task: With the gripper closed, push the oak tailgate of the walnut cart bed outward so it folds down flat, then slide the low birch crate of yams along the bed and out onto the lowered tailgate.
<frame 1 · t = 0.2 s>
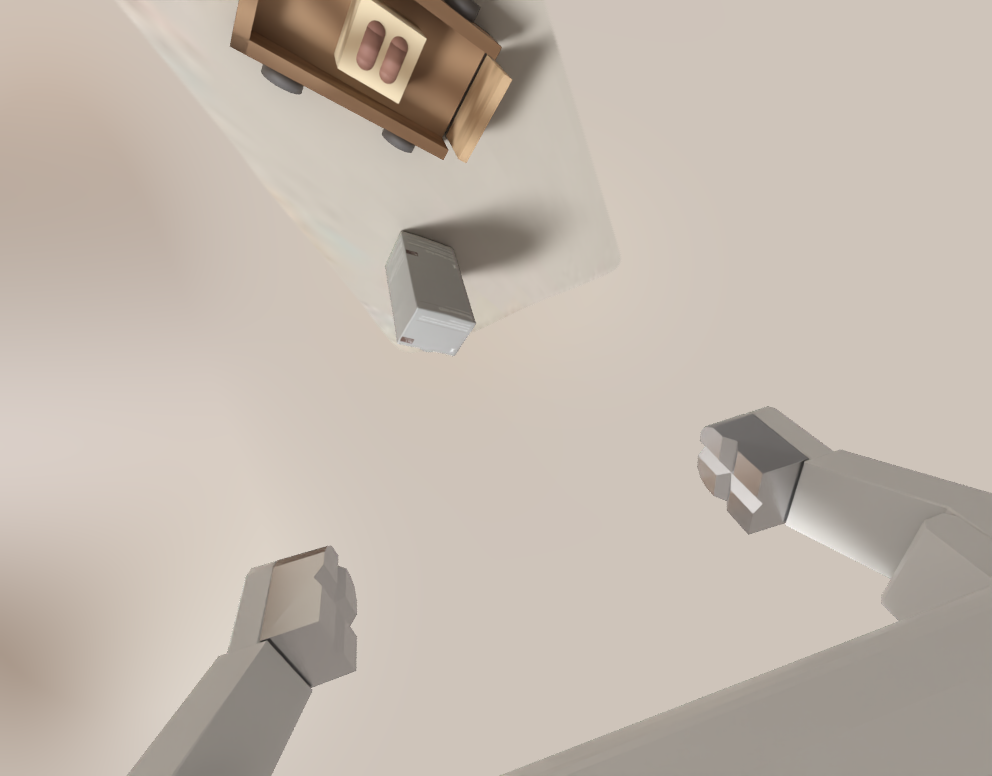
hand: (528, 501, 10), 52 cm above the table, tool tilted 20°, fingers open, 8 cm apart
skincare box: (416, 257, 65), on the table
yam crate: (379, 47, 42), in the cart bed, point 4 cm above the table
tailgate: (475, 109, 49), point 3 cm above the table, hinge at 0.0°
cart bed: (369, 32, 44), on the table
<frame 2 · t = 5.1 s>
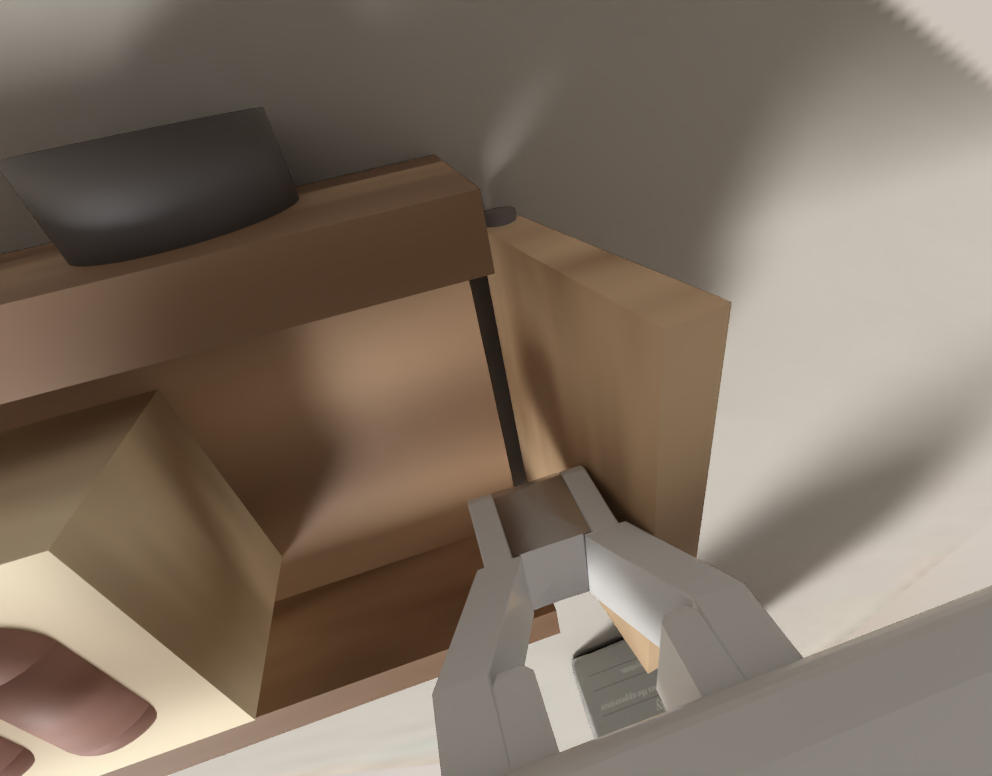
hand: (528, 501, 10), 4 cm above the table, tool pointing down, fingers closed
skincare box: (636, 655, 26), on the table
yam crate: (49, 612, 9), in the cart bed, point 4 cm above the table
tailgate: (579, 441, 10), point 3 cm above the table, hinge at 8.8°, touching gripper
cart bed: (104, 494, 12), on the table
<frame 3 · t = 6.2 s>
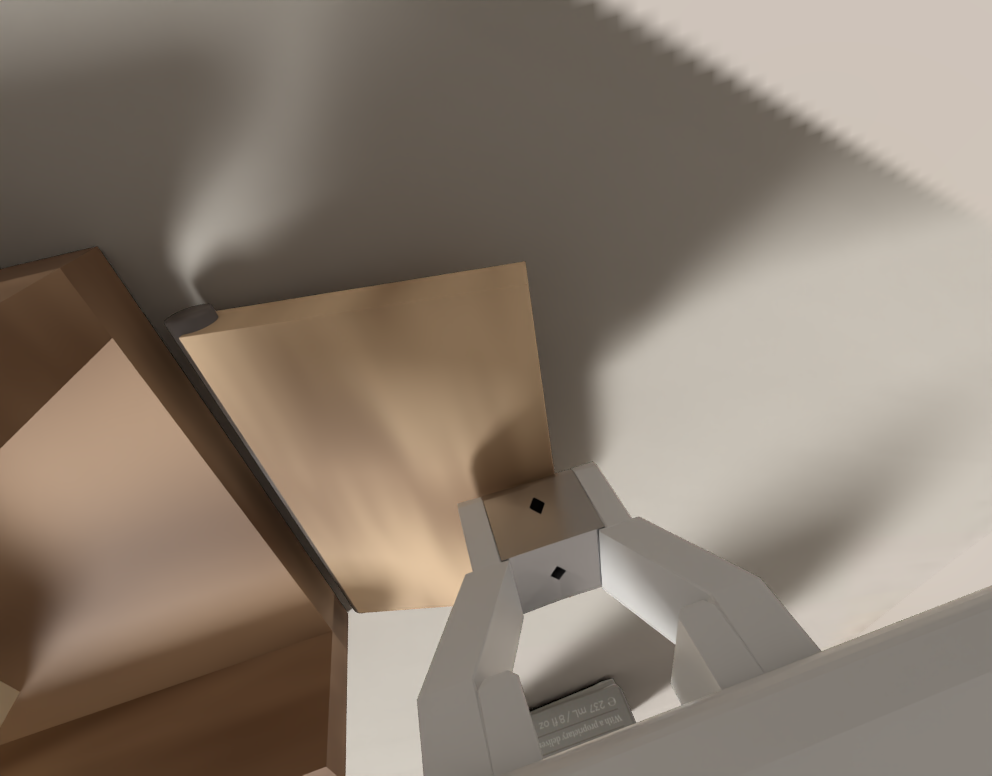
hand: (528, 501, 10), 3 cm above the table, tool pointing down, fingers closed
skincare box: (543, 726, 24), on the table
tailgate: (413, 480, 10), point 1 cm above the table, hinge at 74.2°, touching gripper
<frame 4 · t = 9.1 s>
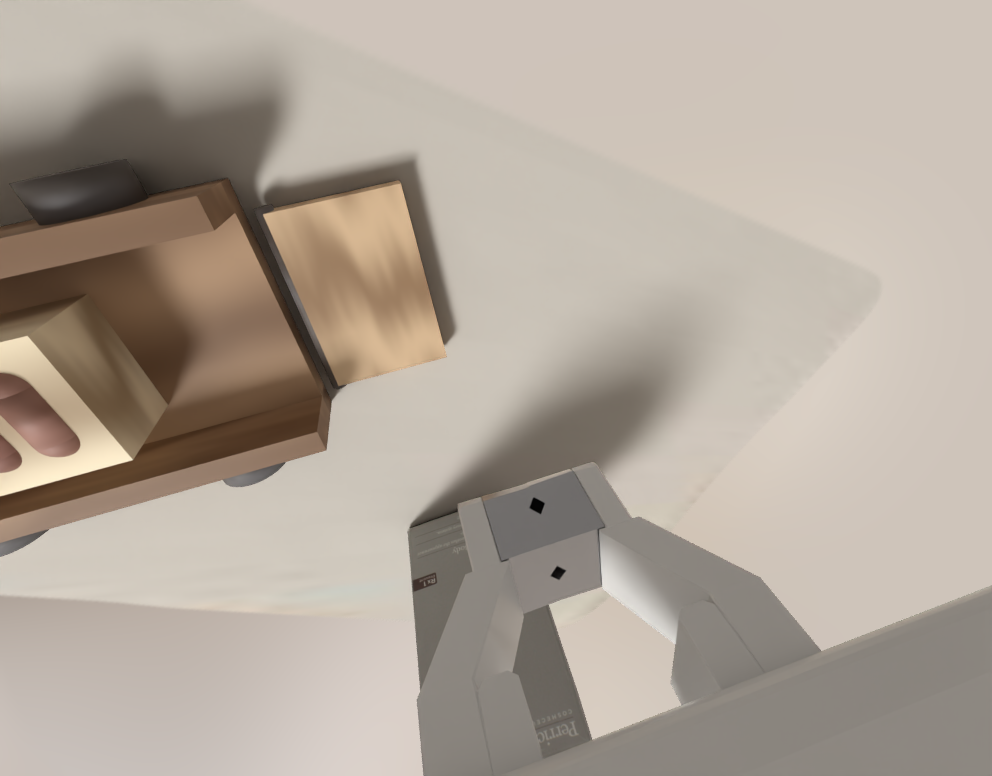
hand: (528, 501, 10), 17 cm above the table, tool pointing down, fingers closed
skincare box: (466, 535, 35), on the table
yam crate: (31, 399, 19), in the cart bed, point 4 cm above the table
tailgate: (362, 292, 23), point 1 cm above the table, hinge at 90.2°
cart bed: (64, 361, 22), on the table
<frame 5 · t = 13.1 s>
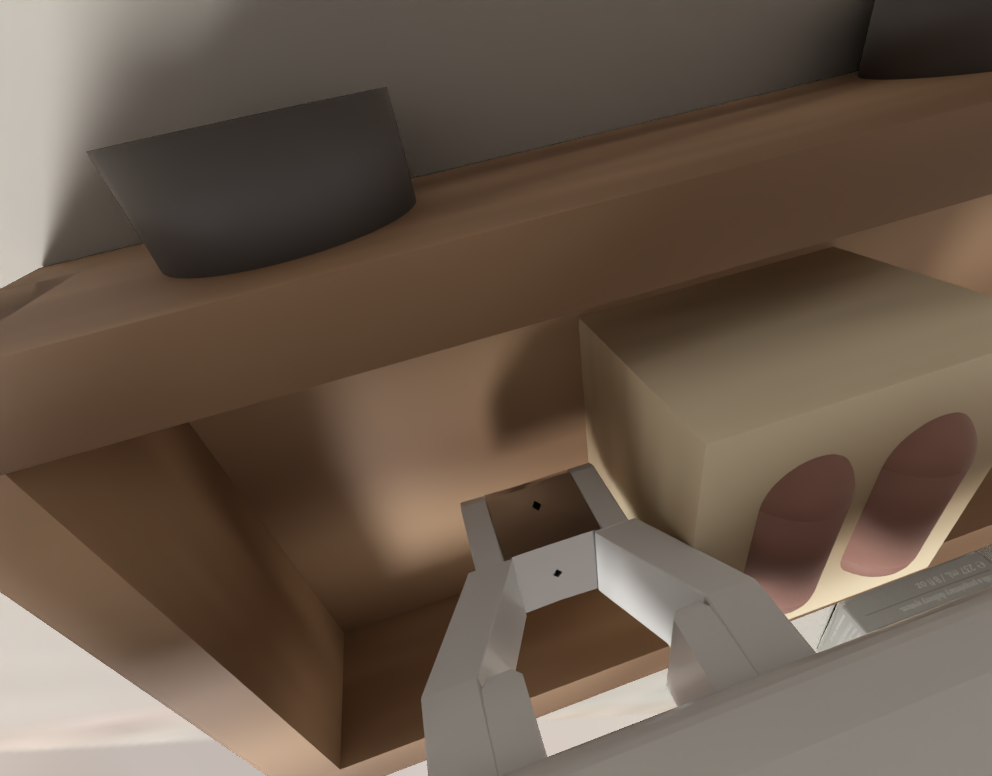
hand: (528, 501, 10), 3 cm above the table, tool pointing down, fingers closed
skincare box: (878, 602, 26), on the table
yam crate: (767, 453, 9), in the cart bed, point 4 cm above the table, touching gripper
cart bed: (623, 382, 12), on the table
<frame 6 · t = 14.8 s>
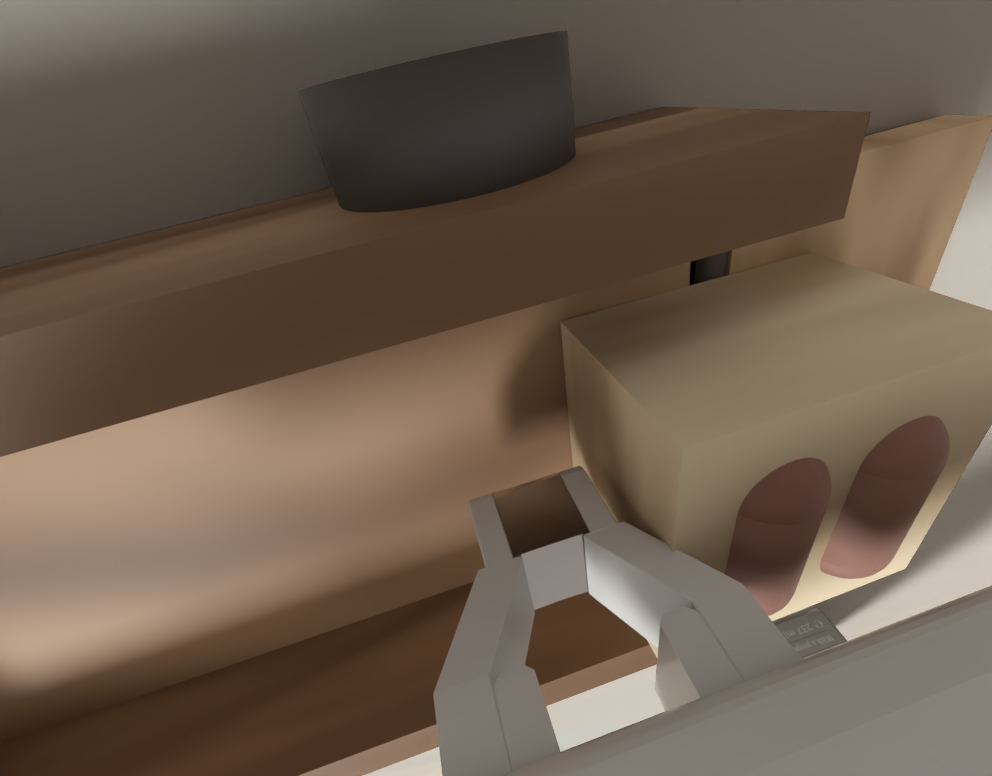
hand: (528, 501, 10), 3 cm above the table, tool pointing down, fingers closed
skincare box: (730, 656, 25), on the table
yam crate: (747, 457, 9), point 4 cm above the table, touching gripper
tailgate: (800, 335, 12), point 1 cm above the table, hinge at 90.4°
cart bed: (265, 483, 11), on the table
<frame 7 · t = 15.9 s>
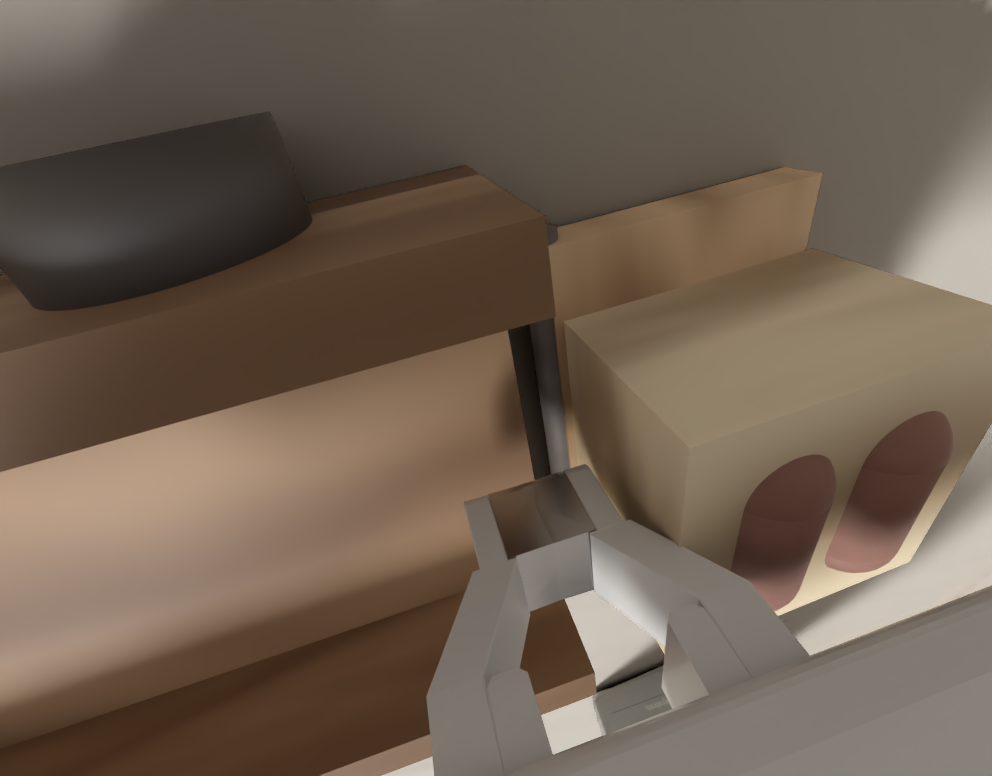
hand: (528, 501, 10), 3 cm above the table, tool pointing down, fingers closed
skincare box: (659, 686, 24), on the table
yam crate: (752, 453, 10), point 3 cm above the table, touching gripper, tailgate
tailgate: (659, 385, 12), point 1 cm above the table, hinge at 91.5°, touching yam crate
cart bed: (90, 542, 11), on the table
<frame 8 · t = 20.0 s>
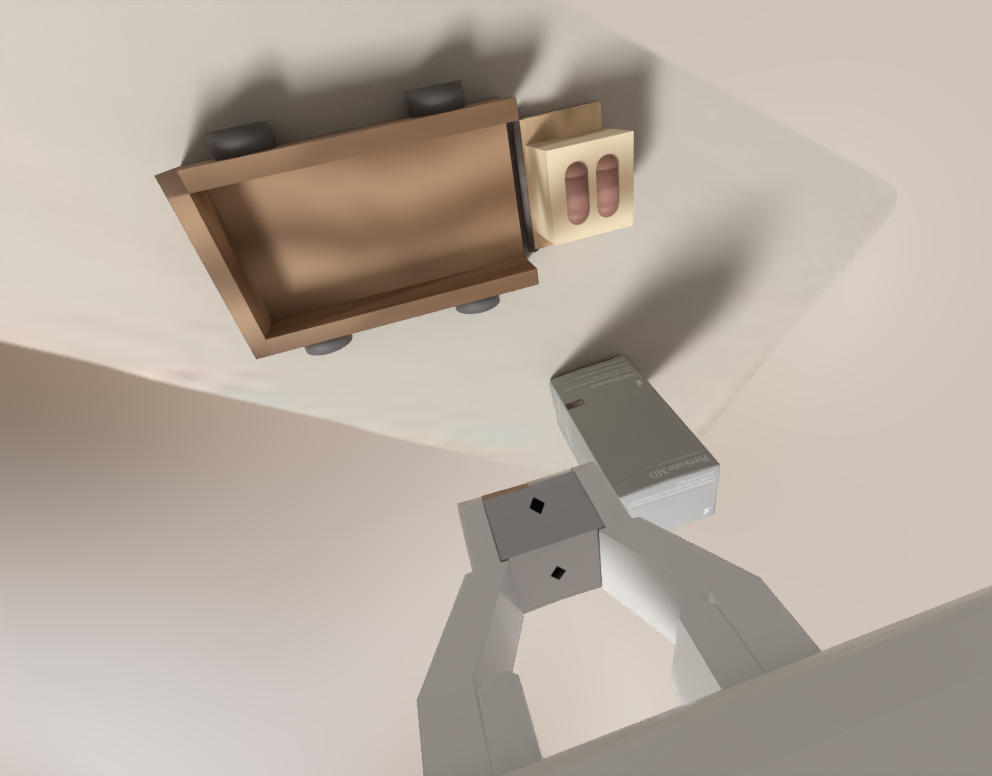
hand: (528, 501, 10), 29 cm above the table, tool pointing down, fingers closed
skincare box: (586, 392, 47), on the table
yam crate: (581, 186, 32), point 4 cm above the table, touching tailgate
tailgate: (561, 180, 34), point 1 cm above the table, hinge at 90.6°, touching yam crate
cart bed: (374, 223, 33), on the table
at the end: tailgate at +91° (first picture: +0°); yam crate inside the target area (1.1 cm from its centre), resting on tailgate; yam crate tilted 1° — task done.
